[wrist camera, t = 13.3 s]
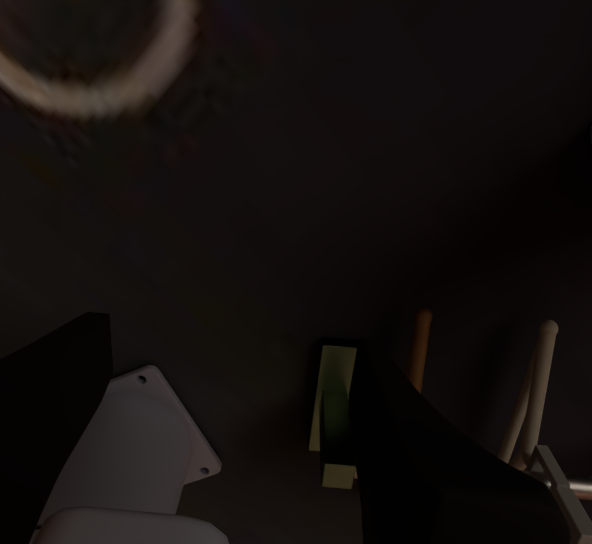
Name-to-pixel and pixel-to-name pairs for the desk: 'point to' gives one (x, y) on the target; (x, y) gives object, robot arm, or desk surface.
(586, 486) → the rail
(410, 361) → the beech hanger
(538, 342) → the white hanger
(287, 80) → the desk surface
